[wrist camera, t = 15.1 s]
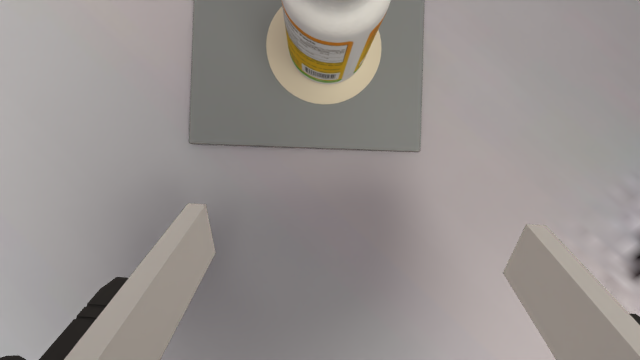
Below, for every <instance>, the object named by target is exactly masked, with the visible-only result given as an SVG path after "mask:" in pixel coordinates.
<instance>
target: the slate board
mask: <svg viewBox="0 0 640 360" xmlns="http://www.w3.org/2000/svg"><path fill="white" fill-rule="evenodd" d="M423 35H424V0H391V2H390V4H389V7H388V10H387V12H386V15H385V17H384V19H383V21H382V23H381V25H380V27H379V29H378V31H377V33H376V35H375V37H374V40H373V42H372V44H371V46H370V48H369V50H368V53H367V55H366V57H365V59H364V61H363V63H362V65H361V66H360V68H359V69H358V71H357V72H356V73H355V74H354V75H353V76H351V77H350V78H348V79H347V80H345V81H343V82H340V83H336V84H320V83H317V82H314V81H312V80H310V79H308V78H306V77H305V76H304V75H302V74H301V73H300V72H299V71H298V70H297V68H296V67H295V65H294V64H293V62H292V59H291V57H290V53H289V49H288V42H287V35H286V28H285V21H284V15H283V8H282V2H281V0H194V10H193V39H192V67H191V96H190V124H189V143H191V144H208V145H235V146H263V147H290V148H318V149H345V150H373V151H400V152H419V151H420V144H421V108H422V71H423Z"/></svg>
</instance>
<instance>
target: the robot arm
mask: <svg viewBox="0 0 640 360" xmlns="http://www.w3.org/2000/svg"><path fill="white" fill-rule="evenodd" d="M214 255H215V248H214V243H213V238H212V233H211V228H210V223H209V217H208V212H207V207H206V204H191V203H188V204H187V205H186V207H185V208H184V209H183V210H182V212H181V213H180V214H179V215H178V217H177V218H176V219H175V220H174V222H173V223H172V224H171V225H170V227H169V228H168V229H167V230H166V232H165V233H164V234H163V236H162V237H161V238H160V239H159V241H158V242H157V243H156V244H155V246H154V247H153V248H152V249H151V251H150V252H149V253H148V254H147V256H146V257H145V258H144V259H143V261H142V262H141V263H140V265H139V266H138V267H137V268H136V270H135V271H134V272H133V273H132V275H131V276H130V277H129V278H123V277H116V278H115V279H113V280H112V281H111V282H109V283H108V284H107V285H105V286H104V287H102V288H101V289H100V290H99V291H98V292H97V293H96V294H95V296H94V297H93V298H92V299H91V300H90V301H89V303H88V304H87V307H84V308H83V309H82V311H81V312H80V313H79V314H78V315H77V318H76V319H74V320H73V321H72V322H71V323H70V325H69V326H68V327H67V328H66V329H65V330H64V331H63V333H62V334H61V335H60V336H59V337H58V338H57V340H56V341H55V342H54V343H53V344H52V345H51V346H50V348H49V349H48V350H47V351H46V352H45V353H44V355H43V356H42V357H41V358H40V359H39V360H160V359H161V357H162V355H163V353H164V352H165V350H166V348H167V346H168V344H169V342H170V340H171V338H172V336H173V334H174V332H175V330H176V328H177V326H178V325H179V323H180V321H181V319H182V317H183V315H184V313H185V311H186V309H187V307H188V305H189V303H190V301H191V299H192V298H193V296H194V294H195V292H196V290H197V288H198V286H199V284H200V282H201V280H202V278H203V276H204V274H205V272H206V271H207V269H208V267H209V265H210V263H211V261H212V259H213V257H214ZM503 274H504V275H505V277H506V279H507V280H508V282H509V284H510V285H511V287H512V289H513V290H514V292H515V293H516V295H517V297H518V298H519V300H520V302H521V303H522V305H523V306H524V308H525V310H526V311H527V313H528V315H529V316H530V318H531V320H532V321H533V323H534V324H535V326H536V328H537V329H538V331H539V333H540V334H541V336H542V338H543V339H544V341H545V342H546V344H547V346H548V347H549V349H550V351H551V352H552V354H553V355H554V357H555V359H556V360H640V317H639V316H638V315H636V314H629V313H628V312H627V311H626V310H625V309H624V308H623V307H622V306H621V305H620V304H619V303H618V301H617V300H616V299H615V298H614V297H613V296H612V295H611V294H610V293H609V292H608V291H607V290H606V289H605V288H604V287H603V286H602V285H601V283H600V282H599V281H598V280H597V279H596V278H595V277H594V276H593V275H592V274H591V273H590V272H589V271H588V270H587V269H586V268H585V267H584V265H583V264H582V263H581V262H580V261H579V260H578V259H577V258H576V257H575V256H574V255H573V254H572V253H571V252H570V251H569V250H568V249H567V247H566V246H565V245H564V244H563V243H562V242H561V241H560V240H559V239H558V238H557V237H556V236H555V235H554V234H553V233H552V232H551V231H550V230H549V228H548V227H547V226H545V225H529V224H526V226H525V228H524V230H523V232H522V234H521V236H520V238H519V240H518V242H517V245H516V247H515V249H514V251H513V253H512V255H511V257H510V259H509V261H508V263H507V265H506V267H505V269H504V272H503ZM0 360H26V359H24V358H22V357H20V356H5V357H2V358H0Z"/></svg>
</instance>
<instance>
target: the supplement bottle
mask: <svg viewBox="0 0 640 360" xmlns="http://www.w3.org/2000/svg"><path fill="white" fill-rule="evenodd" d="M281 2H282V8H283V15H284V21H285V28H286V35H287V42H288V49H289V53H290V57H291V59H292V62H293V64H294V65H295V67H296V68H297V70H298V71H299V72H300V73H301V74H302V75H304V76H305V77H306V78H308V79H310V80H312V81H314V82H317V83H320V84H336V83H340V82H343V81H345V80H347V79H348V78H350V77H351V76H353V75H354V74H355V73H356V72H357V71H358V69H359V68H360V66H361V65H362V63H363V61H364V59H365V57H366V55H367V53H368V50H369V48H370V46H371V44H372V42H373V40H374V37H375V35H376V33H377V31H378V29H379V27H380V25H381V23H382V21H383V19H384V17H385V15H386V12H387V10H388V7H389V4H390V2H391V0H281Z"/></svg>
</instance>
